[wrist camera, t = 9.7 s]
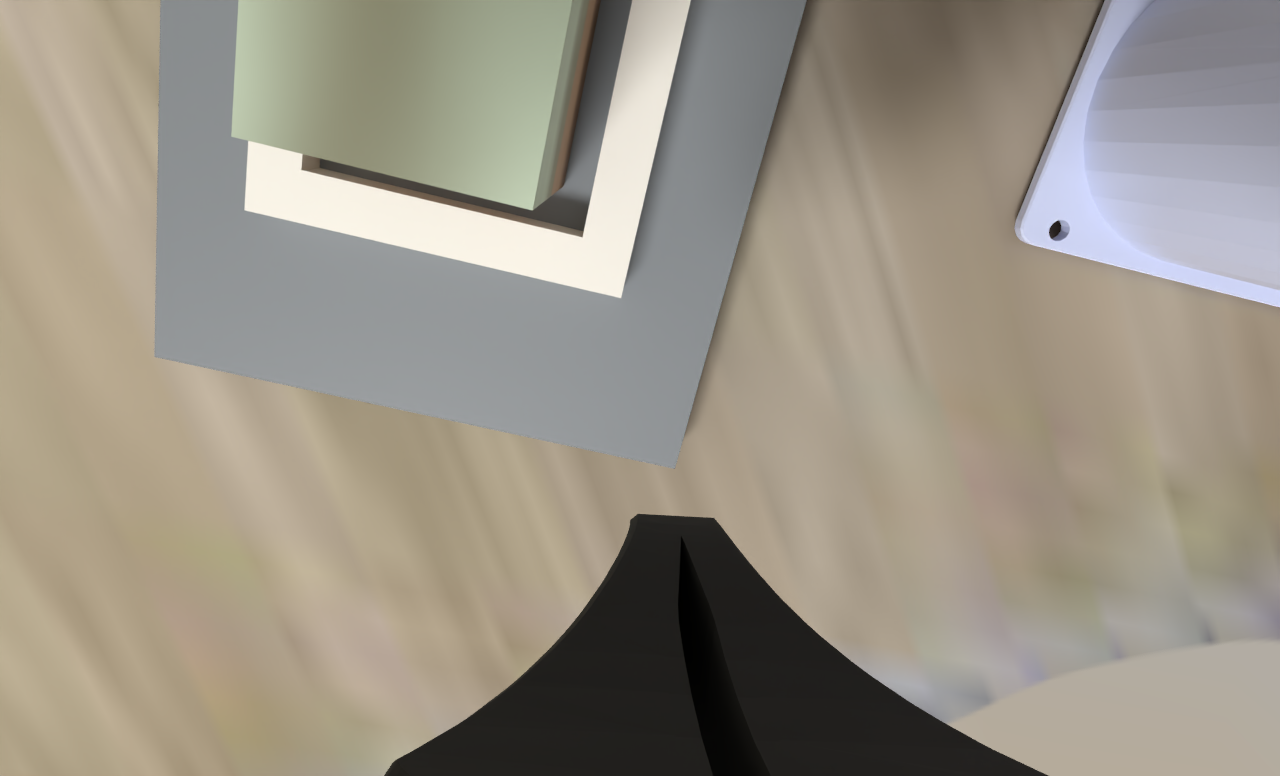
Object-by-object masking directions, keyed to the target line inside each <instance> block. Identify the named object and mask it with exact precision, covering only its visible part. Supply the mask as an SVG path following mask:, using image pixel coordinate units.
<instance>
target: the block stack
mask: <svg viewBox="0 0 1280 776" xmlns="http://www.w3.org/2000/svg"><path fill="white" fill-rule="evenodd" d="M600 3H601V0H238V19H237V38H236V57H235V76H234V95H233V114H232V133H231V137H235V138H239V139H243V140H247V141H251V142H256V143H260V144H264V145H268V146H272V147H276V148H280V149H284V150H288V151H292V152H296V153H300V154H304V155H308V156H313V157H317V158H321V159H325V160H329V161H333V162H337V163H341V164H345V165H349V166H353V167H357V168H361V169H366V170H370V171H374V172H378V173H382V174H386V175H390V176H394V177H398V178H402V179H406V180H410V181H414V182H418V183H423V184H427V185H431V186H435V187H439V188H443V189H447V190H451V191H455V192H459V193H463V194H467V195H471V196H476V197H480V198H484V199H488V200H492V201H496V202H500V203H504V204H508V205H512V206H516V207H520V208H524V209H528V210H534V209H535V208H536V207H538V206H539V205H540V204H542V203H543V202H544V201H545V200H547V199H548V198H549V197H550V196H552V195H553V194H554V193H556V192H557V191H558V190H559V189H561V188H562V187H563V186H564V182H565V177H566V172H567V167H568V162H569V157H570V152H571V147H572V142H573V137H574V132H575V127H576V122H577V117H578V112H579V107H580V102H581V97H582V92H583V87H584V82H585V77H586V72H587V68H588V63H589V58H590V53H591V48H592V43H593V38H594V33H595V28H596V23H597V18H598V13H599V8H600Z"/></svg>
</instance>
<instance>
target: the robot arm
mask: <svg viewBox="0 0 1280 776" xmlns="http://www.w3.org/2000/svg"><path fill="white" fill-rule="evenodd" d="M1058 220H1059V221H1060V223H1061V231H1060V232H1059V234H1058V235H1057V236H1056V237H1054V238H1052V239H1051V238H1050V236H1049V228H1050V227H1051V225H1052V224H1053V223H1054V222H1056V221H1058ZM1015 232H1016V235H1017V237H1018V238H1019V239H1020V240H1021V241H1023V242H1025V243H1027V244H1031V245H1034V246H1038V247H1042V248H1046V249H1050V250H1054V251H1058V252H1062V253H1066V254H1070V255H1074V256H1078V257H1082V258H1086V259H1090V260H1094V261H1098V262H1102V263H1106V264H1110V265H1114V266H1118V267H1122V268H1126V269H1130V270H1134V271H1138V272H1142V273H1146V274H1150V275H1154V276H1158V277H1162V278H1166V279H1169V280H1173V281H1177V282H1181V283H1185V284H1189V285H1193V286H1197V287H1201V288H1205V289H1209V290H1213V291H1217V292H1221V293H1225V294H1229V295H1233V296H1237V297H1241V298H1245V299H1249V300H1253V301H1257V302H1261V303H1265V304H1269V305H1273V306H1277V307H1280V0H1105V1H1104V4H1103V6H1102V9H1101V11H1100V13H1099V16H1098V18H1097V21H1096V23H1095V26H1094V28H1093V31H1092V33H1091V36H1090V38H1089V41H1088V43H1087V46H1086V48H1085V51H1084V53H1083V56H1082V58H1081V61H1080V63H1079V65H1078V68H1077V70H1076V73H1075V75H1074V78H1073V80H1072V83H1071V85H1070V88H1069V90H1068V93H1067V95H1066V98H1065V100H1064V103H1063V105H1062V108H1061V110H1060V113H1059V115H1058V117H1057V120H1056V122H1055V125H1054V127H1053V130H1052V132H1051V135H1050V137H1049V140H1048V142H1047V145H1046V147H1045V150H1044V152H1043V155H1042V157H1041V160H1040V162H1039V165H1038V167H1037V169H1036V172H1035V174H1034V177H1033V179H1032V182H1031V184H1030V187H1029V189H1028V192H1027V194H1026V197H1025V199H1024V202H1023V204H1022V207H1021V209H1020V212H1019V214H1018V217H1017V219H1016V223H1015ZM384 776H1048V775H1045V774H1044V773H1041V772H1039V771H1037V770H1035V769H1033V768H1031V767H1029V766H1026V765H1024V764H1022V763H1020V762H1018V761H1016V760H1014V759H1011V758H1009V757H1007V756H1005V755H1003V754H1001V753H999V752H997V751H995V750H992V749H991V748H988V747H987V746H985V745H983V744H981V743H979V742H977V741H976V740H974V739H972V738H970V737H968V736H967V735H965V734H963V733H961V732H959V731H958V730H956V729H954V728H952V727H950V726H949V725H947V724H945V723H943V722H942V721H940V720H938V719H936V718H935V717H933V716H931V715H930V714H928V713H927V712H925V711H923V710H922V709H920V708H918V707H917V706H915V705H913V704H912V703H910V702H909V701H907V700H906V699H904V698H903V697H901V696H900V695H898V694H897V693H895V692H894V691H892V690H891V689H889V688H888V687H886V686H885V685H883V684H882V683H880V682H879V681H878V680H876V679H875V678H873V677H872V676H870V675H869V674H868V673H866V672H865V671H863V670H862V669H861V668H859V667H858V666H857V665H855V664H854V663H853V662H851V661H850V660H849V659H848V658H847V657H845V656H844V655H843V654H842V653H840V652H839V651H838V650H837V649H835V648H834V647H833V646H832V645H831V644H829V643H828V642H827V641H826V640H824V639H823V638H822V637H821V636H820V635H819V634H817V633H816V632H815V631H814V630H813V629H812V628H811V627H810V626H808V625H807V624H806V623H805V622H804V621H803V620H802V619H801V618H800V617H799V616H798V615H797V614H796V613H795V612H794V611H793V610H792V609H791V608H790V607H789V606H788V605H787V604H786V603H785V602H784V601H783V600H782V599H781V598H780V597H779V596H778V595H777V594H776V593H775V592H774V591H773V589H772V588H771V587H770V586H769V585H768V584H767V583H766V581H765V580H764V579H763V578H762V577H761V576H760V575H759V574H758V572H757V571H756V570H755V569H754V568H753V566H752V565H751V564H750V563H749V562H748V560H747V559H746V558H745V557H744V555H743V554H742V553H741V552H740V550H739V549H738V548H737V547H736V545H735V544H734V543H733V541H732V540H731V539H730V538H729V536H728V535H727V534H726V532H725V531H724V530H723V528H722V527H721V526H720V525H719V523H718V522H717V521H716V520H715V519H714V518H703V517H685V516H666V515H648V514H637V515H636V516H635V517H634V518H632V519H631V520H630V528H629V531H628V534H627V537H626V539H625V542H624V544H623V546H622V548H621V550H620V552H619V554H618V556H617V558H616V560H615V562H614V563H613V565H612V567H611V569H610V570H609V572H608V574H607V576H606V577H605V579H604V581H603V582H602V584H601V585H600V587H599V588H598V589H597V591H596V592H595V594H594V595H593V597H592V598H591V599H590V601H589V602H588V604H587V605H586V606H585V608H584V609H583V611H582V612H581V613H580V615H579V616H578V617H577V618H576V620H575V621H574V622H573V623H572V625H571V626H570V627H569V628H568V629H567V630H566V632H565V633H564V634H563V635H562V636H561V637H560V638H559V639H558V640H557V642H556V643H555V644H554V645H553V646H552V647H551V648H550V649H549V650H548V651H547V652H546V653H545V654H544V655H543V656H542V657H541V658H540V659H539V660H538V661H537V662H536V663H535V664H534V665H533V666H532V667H530V668H529V669H528V670H527V671H526V672H525V673H524V674H523V675H522V676H521V677H520V678H519V679H517V680H516V681H515V682H514V683H513V684H512V685H510V686H509V687H508V688H507V689H505V690H504V691H503V692H501V693H500V694H499V695H498V696H496V697H495V698H494V699H492V700H491V701H490V702H488V703H487V704H486V705H484V706H483V707H482V708H480V709H479V710H478V711H476V712H475V713H474V714H473V715H471V716H470V717H468V718H467V719H466V720H464V721H462V722H461V723H459V724H458V725H456V726H455V727H453V728H451V729H449V730H448V731H446V732H444V733H443V734H441V735H439V736H438V737H436V738H434V739H432V740H431V741H429V742H427V743H426V744H424V745H422V746H420V747H419V748H417V749H415V750H414V751H412V752H410V753H408V754H406V755H404V756H403V757H401V758H399V759H397V760H396V761H394V762H393V763H392V765H391V766H390V768H389V769H388V771H387V772H386V774H385V775H384Z"/></svg>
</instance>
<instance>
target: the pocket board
mask: <svg viewBox="0 0 1280 776" xmlns="http://www.w3.org/2000/svg"><path fill="white" fill-rule="evenodd" d="M806 1H807V0H601V3H600V8H599V13H598V18H597V23H596V28H595V33H594V38H593V43H592V48H591V53H590V58H589V63H588V68H587V72H586V77H585V82H584V87H583V92H582V97H581V102H580V107H579V112H578V117H577V122H576V127H575V132H574V137H573V142H572V147H571V152H570V157H569V162H568V167H567V172H566V177H565V182H564V186H563V187H562V188H561V189H559V190H558V191H557V192H556V193H554V194H553V195H552V196H550V197H549V198H548V199H547V200H545V201H544V202H543V203H542V204H540V205H539V206H538V207H536V208H535V209H534V210H528V209H524V208H520V207H516V206H512V205H508V204H504V203H500V202H496V201H492V200H488V199H484V198H480V197H476V196H471V195H467V194H463V193H459V192H455V191H451V190H447V189H443V188H439V187H435V186H431V185H427V184H423V183H418V182H414V181H410V180H406V179H402V178H398V177H394V176H390V175H386V174H382V173H378V172H374V171H370V170H366V169H361V168H357V167H353V166H349V165H345V164H341V163H337V162H333V161H329V160H325V159H321V158H317V157H313V156H308V155H304V154H300V153H296V152H292V151H288V150H284V149H280V148H276V147H272V146H268V145H264V144H260V143H256V142H251V141H247V140H243V139H239V138H235V137H231V133H232V114H233V95H234V76H235V57H236V38H237V19H238V0H161V8H160V66H159V125H158V184H157V242H156V301H155V357H158V358H162V359H167V360H172V361H176V362H181V363H185V364H190V365H195V366H199V367H204V368H209V369H213V370H218V371H223V372H227V373H232V374H237V375H241V376H246V377H251V378H255V379H260V380H265V381H269V382H274V383H278V384H283V385H288V386H292V387H297V388H302V389H306V390H311V391H316V392H320V393H325V394H330V395H334V396H339V397H344V398H348V399H353V400H358V401H362V402H367V403H371V404H376V405H381V406H385V407H390V408H395V409H399V410H404V411H409V412H413V413H418V414H423V415H427V416H432V417H437V418H441V419H446V420H451V421H455V422H460V423H465V424H469V425H474V426H478V427H483V428H488V429H492V430H497V431H502V432H506V433H511V434H516V435H520V436H525V437H530V438H534V439H539V440H544V441H548V442H553V443H558V444H562V445H567V446H571V447H576V448H581V449H585V450H590V451H595V452H599V453H604V454H609V455H613V456H618V457H623V458H627V459H632V460H637V461H641V462H646V463H651V464H655V465H660V466H664V467H669V468H674V469H675V466H676V462H677V459H678V455H679V452H680V448H681V445H682V441H683V438H684V434H685V430H686V427H687V423H688V420H689V416H690V413H691V409H692V406H693V402H694V399H695V395H696V391H697V388H698V384H699V381H700V377H701V374H702V370H703V367H704V363H705V359H706V356H707V352H708V349H709V345H710V342H711V338H712V335H713V331H714V328H715V324H716V320H717V317H718V313H719V310H720V306H721V303H722V299H723V296H724V292H725V288H726V285H727V281H728V278H729V274H730V271H731V267H732V264H733V260H734V257H735V253H736V249H737V246H738V242H739V239H740V235H741V232H742V228H743V225H744V221H745V217H746V214H747V210H748V207H749V203H750V200H751V196H752V193H753V189H754V186H755V182H756V178H757V175H758V171H759V168H760V164H761V161H762V157H763V154H764V150H765V146H766V143H767V139H768V136H769V132H770V129H771V125H772V122H773V118H774V115H775V111H776V107H777V104H778V100H779V97H780V93H781V90H782V86H783V83H784V79H785V75H786V72H787V68H788V65H789V61H790V58H791V54H792V51H793V47H794V43H795V40H796V36H797V33H798V29H799V26H800V22H801V19H802V15H803V12H804V8H805V4H806Z"/></svg>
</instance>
